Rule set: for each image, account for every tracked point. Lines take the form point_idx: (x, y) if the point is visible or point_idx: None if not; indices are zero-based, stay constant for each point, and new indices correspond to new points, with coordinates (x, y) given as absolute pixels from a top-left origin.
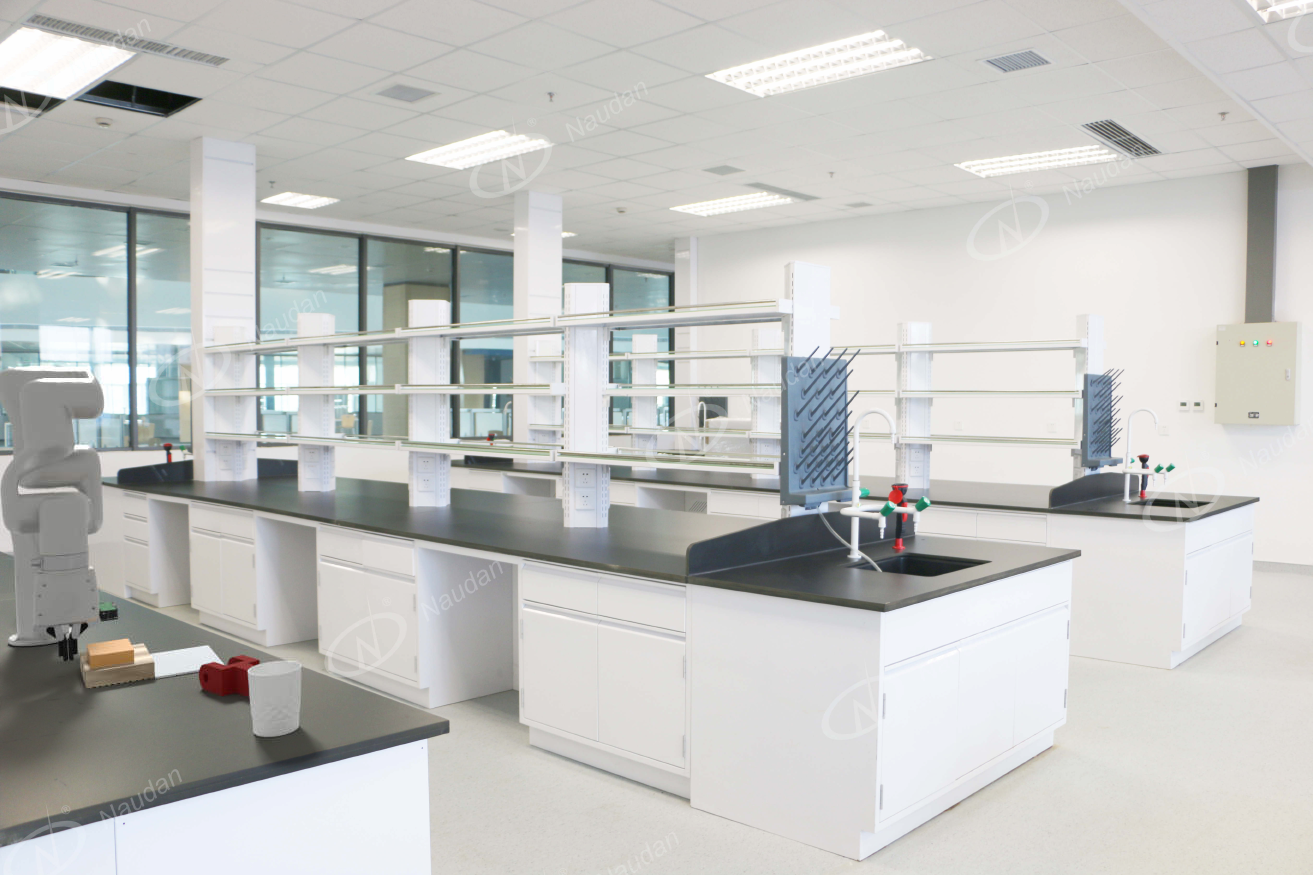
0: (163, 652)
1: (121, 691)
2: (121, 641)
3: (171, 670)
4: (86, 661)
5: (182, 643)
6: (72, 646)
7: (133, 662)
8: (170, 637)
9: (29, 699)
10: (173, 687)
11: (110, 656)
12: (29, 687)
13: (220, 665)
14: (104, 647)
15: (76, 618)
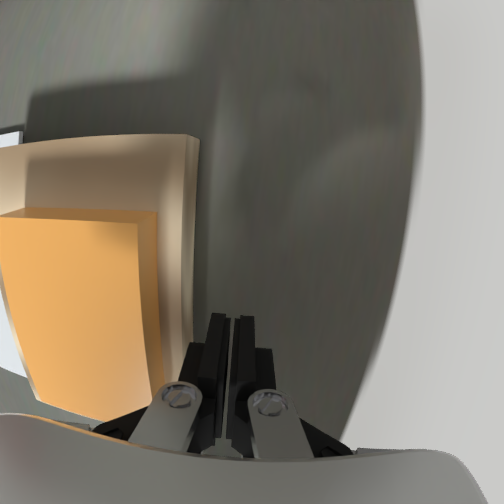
0: (22, 372)
1: (116, 43)
2: (49, 382)
3: None
4: (168, 331)
5: (16, 410)
6: (208, 350)
7: (27, 188)
8: None
9: (376, 147)
10: (23, 27)
11: (68, 215)
12: (350, 299)
13: None
14: (88, 347)
15: (124, 475)
